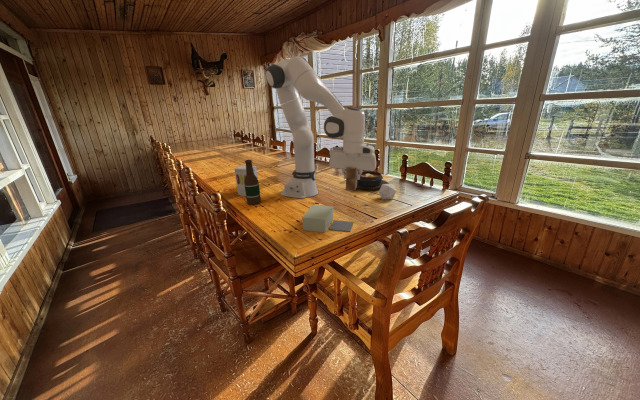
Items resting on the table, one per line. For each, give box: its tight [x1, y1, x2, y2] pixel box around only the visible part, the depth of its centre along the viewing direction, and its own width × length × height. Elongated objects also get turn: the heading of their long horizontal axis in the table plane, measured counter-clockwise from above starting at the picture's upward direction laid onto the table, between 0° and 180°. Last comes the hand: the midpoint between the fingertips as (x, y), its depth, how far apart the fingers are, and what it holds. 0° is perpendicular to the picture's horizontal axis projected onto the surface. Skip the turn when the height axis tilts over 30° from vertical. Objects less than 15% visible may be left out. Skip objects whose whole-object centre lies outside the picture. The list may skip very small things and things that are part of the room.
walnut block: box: [345, 167, 359, 192], centre depth 114 cm, size 4×7×10 cm, turn 165°
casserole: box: [356, 170, 390, 190], centre depth 160 cm, size 25×19×8 cm
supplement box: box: [234, 164, 259, 197], centre depth 155 cm, size 10×9×17 cm
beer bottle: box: [244, 159, 262, 206], centre depth 139 cm, size 8×8×24 cm
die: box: [378, 183, 397, 201], centre depth 140 cm, size 8×9×10 cm
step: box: [301, 204, 334, 233], centre depth 114 cm, size 10×14×6 cm
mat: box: [328, 219, 354, 233], centre depth 112 cm, size 9×9×1 cm
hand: (351, 178), depth 114 cm, fingers closed on walnut block, 4 cm apart
